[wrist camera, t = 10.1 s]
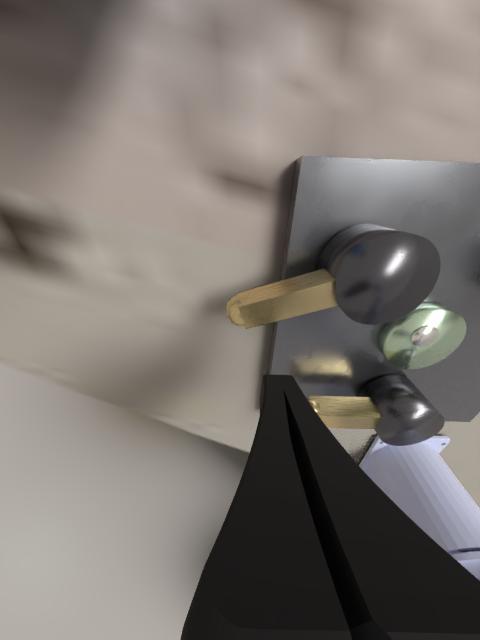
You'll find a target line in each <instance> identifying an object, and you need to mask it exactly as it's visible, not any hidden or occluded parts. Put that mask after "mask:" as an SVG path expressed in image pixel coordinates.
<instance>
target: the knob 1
mask: <svg viewBox="0 0 480 640" xmlns="http://www.w3.org/2000/svg"><path fill="white" fill-rule="evenodd" d="M440 266H441V262H440V256H439V253H438V250H437V248H436V247H435V246H434V244H433V243H432V242H430V241H429V240H428V239H426V238H424V237H422V236H419V235H416V234H412V233H408V232H403V231H399V230H395V229H391V228H387V227H383V226H379V225H375V224H359V225H355V226H352V227H349V228H347V229H345V230H343V231H342V232H340V233H339V234H337V235H336V236H335V237H334V238H333V239H332V240H331V241H330V242H329V243H328V244H327V246H326V247H325V249H324V250H323V252H322V254H321V256H320V259H319V263H318V270H317V271H314V272H310V273H307V274H303V275H300V276H296V277H293V278H289V279H286V280H282V281H279V282H275V283H272V284H268V285H265V286H261V287H258V288H254V289H251V290H247V291H244V292H240V293H238V295H236V296H234V297H233V298H231V299H230V300H229V302H228V304H227V307H226V314H227V317H228V319H229V320H230V321H231V322H232V323H233V324H235V325H237V326H245V328H246V329H248V328H252V327H256V326H260V325H264V324H268V323H272V322H276V321H279V320H283V319H287V318H291V317H295V316H299V315H303V314H307V313H311V312H315V311H319V310H323V309H326V308H330V307H334V306H339V307H340V308H341V310H342V311H343V312H344V313H345V314H346V315H347V316H348V317H349V318H350V319H352V320H353V321H356V322H358V323H361V324H367V325H379V324H385V323H388V322H392V321H395V320H397V319H399V318H401V317H403V316H405V315H407V314H408V313H410V312H411V311H413V310H414V309H416V308H417V307H418V306H419V305H420V304H421V303H422V302H423V301H424V300H425V299H426V298H427V297H428V295H429V294H430V293H431V291H432V290H433V288H434V286H435V284H436V282H437V280H438V277H439V273H440Z"/></svg>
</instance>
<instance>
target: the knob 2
mask: <svg viewBox="0 0 480 640" xmlns="http://www.w3.org/2000/svg"><path fill="white" fill-rule="evenodd" d="M308 401H309V403H310V404H311V405H312V407H313V408H314V410H315V411H316V413H317V414H318V415H319V417H320V418H321V420H322V421H323V422H324V424H325V425H326V426H327V428H351V429H375V431H376V432H377V434H378V436H379V438H380V439H381V441H383V442H384V443H386V444H388V445H393V446H407V445H412V444H417V443H420V442H423V441H425V440H427V439H429V438H431V437H433V436H434V435H436V434H437V433H438V432H439V431H440V430H441V429H442V427H443V426H444V421H445V420H444V417H443V416H442V415H441V414H440V413H439V411H438V410H437V409H436V408H435V407H434V406H433V405H432V404H431V403H430V401H429V400H428V399H427V398H426V397H425V396H424V395H423V394H422V392H421V391H420V390H419V389H418V388H417V387H416V386H415V385H414V384H413V382H412V381H411V380H410V379H408V378H407V377H404V376H400V375H389V376H384V377H381V378H378V379H376V380H373V381H372V382H370V383H369V384H367V385H366V386H365V387H364V388H363V389H362V390H361V392H360V394H359V397H341V396H309V397H308Z"/></svg>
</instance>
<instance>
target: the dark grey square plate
mask: <svg viewBox="0 0 480 640" xmlns="http://www.w3.org/2000/svg"><path fill="white" fill-rule="evenodd" d="M359 224H375V225H379V226H383V227H387V228H391V229H395V230H399V231H403V232H408V233H412V234H416V235H419V236H422V237H424V238H426V239H428V240H429V241H430V242H432V243H433V244H434V246H435V247H436V248H437V250H438V253H439V256H440V262H441V266H440V273H439V277H438V280H437V282H436V284H435V286H434V288H433V290H432V291H431V293H430V294H429V295H428V297H427V298H426V299H425V300H424V301H423V302H422V303H421V304H420V305H419V306H418V307H417V308H416V309H414V310H413V311H411V312H410V313H408V314H407V315H405V316H403V317H401V318H399V319H397V320H395V321H392V322H388V323H385V324H379V325H367V324H361V323H358V322H356V321H353V320H352V319H350V318H349V317H348V316H347V315H346V314H345V313H344V312H343V311H342V310H341V308H340V307H339V306H334V307H330V308H326V309H323V310H319V311H315V312H311V313H307V314H303V315H299V316H295V317H291V318H287V319H283V320H279V321H276V322H275V323H274V330H273V338H272V345H271V353H270V360H269V368H268V374H270V375H292V376H293V377H294V378H295V380H296V382H297V384H298V385H299V387H300V388H301V390H302V392H303V393H304V395H305V396H306V398H307V399H308V397H309V396H341V397H359V394H360V392H361V390H362V389H363V388H364V387H365V386H366V385H367V384H369V383H370V382H372V381H373V380H376V379H378V378H381V377H384V376H389V375H400V376H404V377H407V378H408V379H410V380H411V381H412V382H413V384H414V385H415V386H416V387H417V388H418V389H419V390H420V391H421V392H422V394H423V395H424V396H425V397H426V398H427V399H428V400H429V401H430V403H431V404H432V405H433V406H434V407H435V408H436V409H437V410H438V411H439V413H440V414H441V415H442V416H443V417H444V420H445V421H460V422H470V421H471V420H472V419H473V418H474V417H475V416H476V415H477V414H478V413H479V412H480V163H468V162H442V161H416V160H389V159H363V158H337V157H311V156H301V157H300V158H298V159H296V166H295V174H294V181H293V189H292V196H291V204H290V211H289V219H288V226H287V234H286V241H285V248H284V256H283V263H282V271H281V278H280V281H282V280H286V279H289V278H293V277H296V276H300V275H303V274H307V273H310V272H314V271H317V270H318V263H319V259H320V256H321V254H322V252H323V250H324V249H325V247H326V246H327V244H328V243H329V242H330V241H331V240H332V239H333V238H334V237H335V236H336V235H337V234H339V233H340V232H342V231H343V230H345V229H347V228H349V227H352V226H355V225H359Z"/></svg>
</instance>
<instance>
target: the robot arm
mask: <svg viewBox="0 0 480 640" xmlns="http://www.w3.org/2000/svg"><path fill="white" fill-rule="evenodd" d="M449 442H450V439H449V438H448V437H447V436H433V437H431V438H429V439H427V440H425V441H423V442H420V443H417V444H412V445H407V446H393V445H388V444H386V443H384V442H383V441H381V439H380V438H379V436H377V437H376V439H375V440H374V442H373V443H372V445H371V447H370V448H369V450H368V451H367V453H366V455H365V456H364V458H363V459H362V461H361V463H360V464H359V465H358V464H357V463H356V462H355V461H354V460H353V458H352V457H351V456H350V455H349V454H348V453H347V452H346V450H345V449H344V448H343V447H342V446H341V444H340V443H339V442H338V441H337V439H336V438H335V437H334V436H333V434H332V433H331V432H330V430H329V429H328V428H327V426H326V425H325V424H324V422H323V421H322V420H321V418H320V417H319V415H318V414H317V413H316V411H315V410H314V408H313V407H312V405H311V404H310V403H309V401H308V399H307V398H306V396H305V395H304V393H303V392H302V390H301V388H300V387H299V385H298V384H297V382H296V380H295V378H294V377H293V376H292V375H270V374H265V375H264V376H263V381H262V389H261V397H260V418H259V422H258V426H257V430H256V434H255V437H254V441H253V444H252V448H251V451H250V454H249V457H248V460H247V463H246V466H245V469H244V472H243V475H242V478H241V480H240V483H239V486H238V488H237V491H236V494H235V496H234V499H233V501H232V503H231V506H230V508H229V511H228V513H227V516H226V519H225V521H224V523H223V526H222V528H221V530H220V533H219V535H218V537H217V539H216V542H215V544H214V546H213V548H212V551H211V553H210V555H209V557H208V560H207V562H206V564H205V566H204V569H203V571H202V574H201V578H200V580H199V583H198V586H197V589H196V591H195V594H194V597H193V600H192V603H191V606H190V609H189V611H188V614H187V617H186V620H185V623H184V627H183V631H182V635H181V640H480V508H479V507H478V506H477V504H476V503H475V502H474V500H473V499H472V498H471V496H470V495H469V494H468V492H467V491H466V490H465V488H464V487H463V486H462V484H461V483H460V482H459V480H458V479H457V478H456V477H455V475H454V474H453V473H452V471H451V470H450V469H449V467H448V466H447V465H446V463H445V462H444V461H443V459H442V458H441V457H440V455H439V453H440V452H441V451H442V449H443V448H444V447H445V446H446V445H447V444H448V443H449Z"/></svg>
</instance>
